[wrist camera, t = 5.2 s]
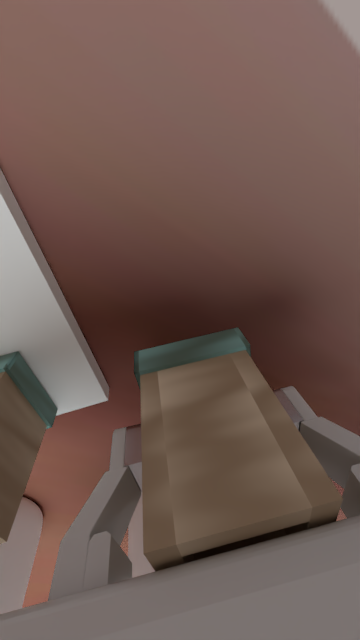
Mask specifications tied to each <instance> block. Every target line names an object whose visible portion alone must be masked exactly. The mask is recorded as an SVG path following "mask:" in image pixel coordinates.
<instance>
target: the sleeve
mask: <svg viewBox="0 0 360 640" xmlns="http://www.w3.org/2000/svg"><path fill="white" fill-rule="evenodd" d="M134 374H135V377H136V379H137V382H138V385H139V388H140V391H141V446H142V504H143V554H144V555H145V557H146V558H147V560H148V561H149V563H150V564H151V566H152V567H153V569H154V570H155V571H159V570H162V569H166V568H169V567H173V566H177V565H180V564H184V563H188V562H191V561H195V560H198V559H202V558H206V557H209V556H213V555H216V554H220V553H224V552H227V551H231V550H235V549H238V548H242V547H245V546H249V545H253V544H256V543H260V542H264V541H267V540H271V539H274V538H278V537H282V536H285V535H289V534H292V533H296V532H300V531H303V530H307V529H311V528H314V527H318V526H321V525H325V524H329V523H332V522H336V519H337V516H338V513H339V510H340V507H341V504H342V501H343V498H342V496H341V495H340V493H339V492H338V490H337V489H336V487H335V486H334V484H333V482H332V481H331V479H330V478H329V476H328V475H327V473H326V472H325V470H324V469H323V467H322V466H321V464H320V463H319V461H318V460H317V458H316V457H315V455H314V453H313V452H312V450H311V449H310V447H309V446H308V444H307V443H306V441H305V440H304V438H303V437H302V435H301V434H300V432H299V431H298V429H297V427H296V426H295V424H294V423H293V421H292V420H291V418H290V417H289V415H288V414H287V412H286V411H285V409H284V408H283V406H282V405H281V403H280V401H279V400H278V398H277V397H276V395H275V394H274V392H273V391H272V389H271V388H270V386H269V385H268V383H267V382H266V380H265V379H264V377H263V376H262V374H261V372H260V371H259V369H258V368H257V366H256V365H255V363H254V362H253V360H252V359H251V352H250V344H249V342H248V341H247V339H246V338H245V337H244V335H243V334H242V332H241V331H240V330H239V328H238V327H237V328H233V329H229V330H224V331H220V332H216V333H212V334H208V335H203V336H199V337H195V338H191V339H186V340H182V341H178V342H174V343H169V344H165V345H161V346H157V347H153V348H148V349H144V350H140V351H136V352H134Z"/></svg>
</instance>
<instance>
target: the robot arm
mask: <svg viewBox="0 0 360 640" xmlns="http://www.w3.org/2000/svg"><path fill="white" fill-rule="evenodd" d="M273 392H274V394H275V395H276V397H277V398H278V400H279V401H280V403H281V405H282V406H283V408H284V409H285V411H286V412H287V414H288V415H289V417H290V418H291V420H292V421H293V423H294V424H295V426H296V427H297V429H298V431H299V432H300V434H301V435H302V437H303V438H304V440H305V441H306V443H307V444H308V446H309V447H310V449H311V450H312V452H313V453H314V455H315V457H316V458H317V460H318V461H319V463H320V464H321V466H322V467H323V469H324V470H325V472H326V473H327V475H328V476H329V477H330V478H331V479H332V480H333V481H335V482H336V483H337V484H339V485H340V486H341V487H343V488H344V492H343V495H342V498H343V501H342V504H341V507H340V508H341V509H342V511H343V512H344V514H345V516H346V517H347V519H343V520H340V521H336V522H332V523H329V524H325V525H321V526H318V527H314V528H311V529H307V530H303V531H300V532H296V533H292V534H289V535H285V536H282V537H278V538H274V539H271V540H267V541H264V542H260V543H256V544H253V545H249V546H245V547H242V548H238V549H235V550H231V551H227V552H224V553H220V554H216V555H213V556H209V557H206V558H202V559H198V560H195V561H191V562H188V563H184V564H180V565H177V566H173V567H169V568H166V569H162V570H159V571H155V572H151V573H148V574H144V575H141V576H137V577H133V578H132V562H131V561H130V559H129V558H128V557H127V555H126V554H125V553H124V551H123V550H122V549H121V547H120V545H121V542H122V540H123V537H124V535H125V533H126V530H127V528H128V525H129V523H130V521H131V518H132V516H133V513H134V511H135V508H136V506H137V504H138V501H139V499H140V496H141V492H142V446H141V424H137V425H133V426H128V427H124V428H120V429H116V430H114V432H113V437H112V447H111V457H110V467H109V471H107V472H105V473H104V475H103V476H102V478H101V479H100V481H99V483H98V484H97V486H96V487H95V489H94V490H93V492H92V494H91V495H90V497H89V498H88V500H87V501H86V503H85V504H84V506H83V508H82V509H81V511H80V512H79V514H78V515H77V517H76V519H75V520H74V522H73V523H72V525H71V526H70V528H69V530H68V531H67V533H66V534H65V536H64V537H63V539H62V540H61V543H60V547H59V552H58V557H57V561H56V566H55V570H54V575H53V580H52V584H51V589H50V593H49V598H48V601H47V602H43V603H39V604H36V605H32V606H29V607H25V608H21V609H18V610H14V611H10V612H7V613H3V614H0V640H360V436H358V435H356V434H354V433H352V432H350V431H348V430H346V429H345V428H343V427H341V426H339V425H337V424H335V423H333V422H331V421H329V420H327V419H325V418H323V417H317V416H316V414H315V413H314V412H313V410H312V409H311V408H310V407H309V405H308V404H307V403H306V402H305V400H304V399H303V398H302V396H301V395H300V394H299V393H298V391H297V390H296V389H295V388H294V387H293V386H289V387H285V388H281V389H276V390H273Z"/></svg>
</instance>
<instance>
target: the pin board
mask: <svg viewBox="0 0 360 640" xmlns="http://www.w3.org/2000/svg"><path fill="white" fill-rule="evenodd" d="M17 351H18V352H19V353H20V354H21V356H22V357H23V359H24V360H25V362H26V363H27V365H28V366H29V368H30V369H31V371H32V372H33V373H34V375H35V376H36V378H37V379H38V381H39V382H40V384H41V385H42V387H43V388H44V389H45V391H46V392H47V394H48V395H49V397H50V398H51V400H52V401H53V403H54V404H55V406H56V407H57V408H58V410H57V413H56V415H60V414H63V413H67V412H70V411H74V410H77V409H80V408H84V407H87V406H91V405H94V404H98V403H101V402H104V401H108V396H109V386H108V384H107V382H106V380H105V378H104V376H103V374H102V372H101V370H100V368H99V366H98V364H97V362H96V360H95V358H94V356H93V354H92V352H91V350H90V348H89V346H88V344H87V342H86V340H85V338H84V336H83V334H82V332H81V330H80V328H79V326H78V324H77V322H76V320H75V318H74V316H73V314H72V311H71V309H70V307H69V305H68V303H67V301H66V299H65V297H64V295H63V293H62V291H61V289H60V287H59V285H58V283H57V281H56V279H55V277H54V275H53V273H52V271H51V269H50V267H49V265H48V263H47V261H46V259H45V257H44V255H43V253H42V251H41V249H40V247H39V245H38V243H37V241H36V239H35V237H34V235H33V233H32V231H31V229H30V227H29V225H28V223H27V221H26V219H25V217H24V215H23V213H22V211H21V209H20V207H19V205H18V203H17V201H16V199H15V197H14V195H13V193H12V191H11V189H10V187H9V185H8V183H7V181H6V178H5V176H4V174H3V172H2V170H1V168H0V356H2V355H6V354H9V353H13V352H17Z"/></svg>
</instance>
